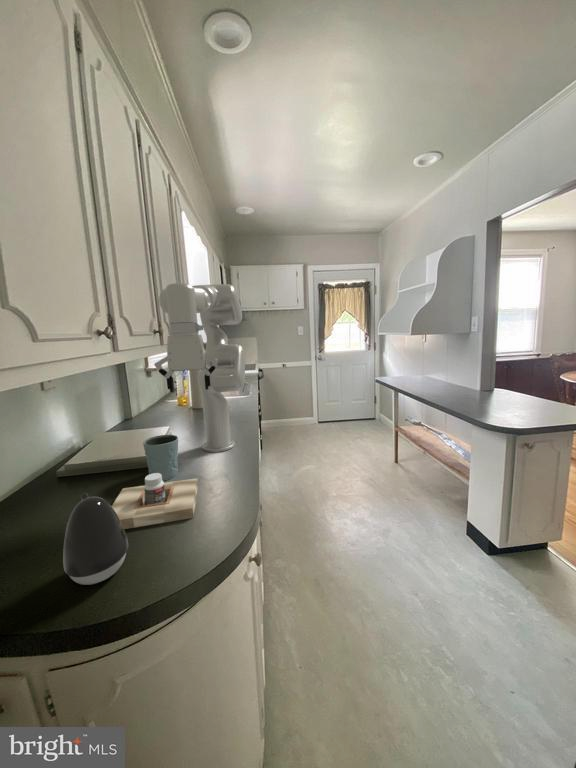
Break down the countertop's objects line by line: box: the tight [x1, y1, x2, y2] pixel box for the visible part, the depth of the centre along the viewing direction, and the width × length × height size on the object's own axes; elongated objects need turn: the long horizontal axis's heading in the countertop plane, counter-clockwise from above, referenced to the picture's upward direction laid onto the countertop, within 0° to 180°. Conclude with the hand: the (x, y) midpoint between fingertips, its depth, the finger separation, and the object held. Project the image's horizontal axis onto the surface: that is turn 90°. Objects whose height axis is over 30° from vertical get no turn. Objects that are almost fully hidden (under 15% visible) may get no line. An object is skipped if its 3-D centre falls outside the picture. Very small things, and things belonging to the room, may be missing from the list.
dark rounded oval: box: [62, 492, 129, 586], centre depth 56 cm, size 10×10×15 cm
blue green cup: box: [142, 434, 179, 482], centre depth 96 cm, size 10×10×12 cm
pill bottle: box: [143, 473, 167, 505], centre depth 78 cm, size 5×5×8 cm
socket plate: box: [111, 477, 199, 530], centre depth 78 cm, size 16×20×3 cm
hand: (189, 390), depth 86 cm, fingers open, 9 cm apart
